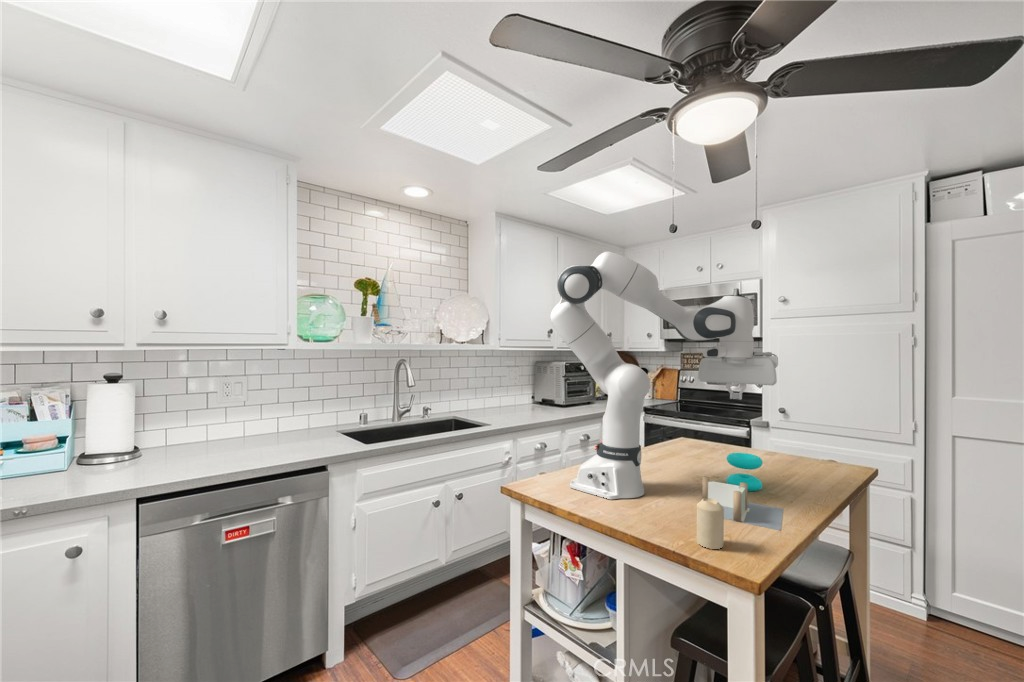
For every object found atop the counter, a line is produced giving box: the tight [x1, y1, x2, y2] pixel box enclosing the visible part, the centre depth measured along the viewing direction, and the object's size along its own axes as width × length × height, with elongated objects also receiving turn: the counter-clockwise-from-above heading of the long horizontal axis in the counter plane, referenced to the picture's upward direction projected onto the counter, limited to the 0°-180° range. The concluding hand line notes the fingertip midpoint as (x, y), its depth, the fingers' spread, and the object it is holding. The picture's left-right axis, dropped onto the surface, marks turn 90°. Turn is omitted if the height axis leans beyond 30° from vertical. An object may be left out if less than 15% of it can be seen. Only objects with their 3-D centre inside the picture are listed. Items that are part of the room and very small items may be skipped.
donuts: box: [726, 452, 763, 492], centre depth 139 cm, size 10×10×10 cm
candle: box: [696, 498, 725, 550], centre depth 99 cm, size 6×6×10 cm
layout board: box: [722, 501, 784, 532], centre depth 118 cm, size 19×17×1 cm
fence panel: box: [733, 487, 745, 522], centre depth 114 cm, size 9×2×7 cm, turn 144°
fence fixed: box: [701, 475, 748, 510], centre depth 122 cm, size 11×2×7 cm, turn 57°
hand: (735, 399), depth 128 cm, fingers closed
